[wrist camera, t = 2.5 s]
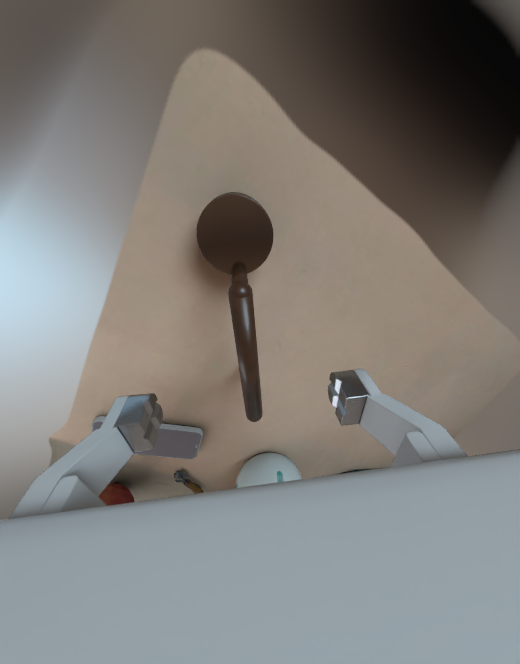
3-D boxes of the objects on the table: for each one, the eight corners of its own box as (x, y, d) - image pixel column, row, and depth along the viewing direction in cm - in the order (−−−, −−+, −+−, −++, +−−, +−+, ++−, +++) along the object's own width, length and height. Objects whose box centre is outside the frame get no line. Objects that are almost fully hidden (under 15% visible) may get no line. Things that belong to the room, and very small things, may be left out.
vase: (231, 478, 45) (229, 627, 30) (239, 443, 39) (242, 608, 24) (288, 478, 47) (314, 617, 32) (305, 444, 41) (346, 598, 26)
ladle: (194, 194, 19) (169, 204, 12) (267, 189, 19) (287, 195, 12) (226, 366, 29) (223, 429, 22) (273, 361, 30) (286, 421, 22)
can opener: (203, 488, 46) (203, 495, 45) (193, 491, 46) (192, 498, 45) (181, 467, 41) (180, 474, 40) (169, 470, 41) (167, 477, 40)
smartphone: (91, 419, 31) (203, 432, 34) (94, 413, 32) (204, 427, 35) (93, 450, 35) (195, 459, 38) (97, 444, 35) (196, 454, 39)
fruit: (146, 491, 45) (125, 563, 36) (101, 495, 44) (70, 569, 36) (134, 469, 40) (107, 545, 32) (84, 473, 39) (44, 552, 31)
